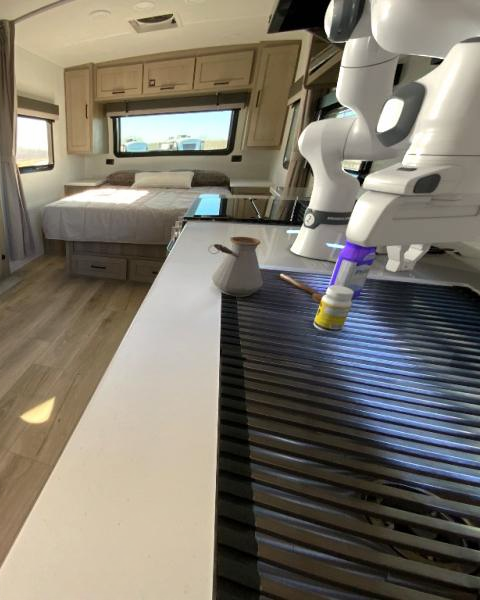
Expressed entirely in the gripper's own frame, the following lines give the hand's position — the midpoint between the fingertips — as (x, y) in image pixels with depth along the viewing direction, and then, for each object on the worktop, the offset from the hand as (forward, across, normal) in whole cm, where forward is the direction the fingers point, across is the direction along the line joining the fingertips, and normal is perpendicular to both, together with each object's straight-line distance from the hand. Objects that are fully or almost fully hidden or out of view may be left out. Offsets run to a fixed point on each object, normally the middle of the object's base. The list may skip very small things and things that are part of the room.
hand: (398, 270), depth 52 cm
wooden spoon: (+15, -9, -25) cm, 31 cm away
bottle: (+15, -16, -21) cm, 31 cm away
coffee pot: (+15, +12, -25) cm, 32 cm away
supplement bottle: (+15, 0, -8) cm, 17 cm away
